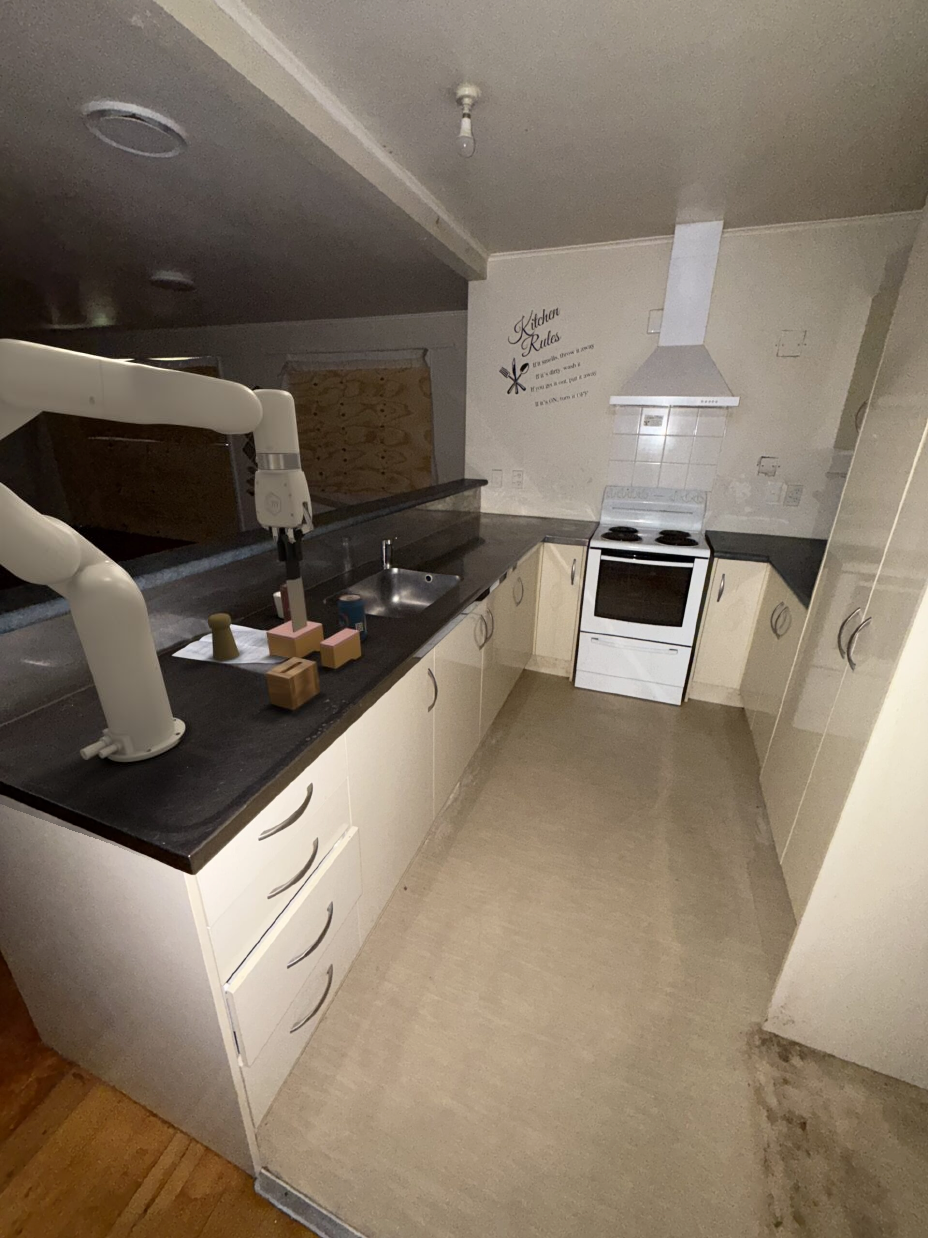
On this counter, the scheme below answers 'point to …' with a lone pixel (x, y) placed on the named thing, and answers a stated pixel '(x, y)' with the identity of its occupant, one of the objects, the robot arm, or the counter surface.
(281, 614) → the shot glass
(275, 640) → the cake
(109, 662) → the robot arm
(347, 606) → the soda can
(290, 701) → the knife block
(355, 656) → the cake slice
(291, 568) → the knife
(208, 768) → the counter surface
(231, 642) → the olive pepper shaker
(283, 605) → the can
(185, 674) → the counter surface
